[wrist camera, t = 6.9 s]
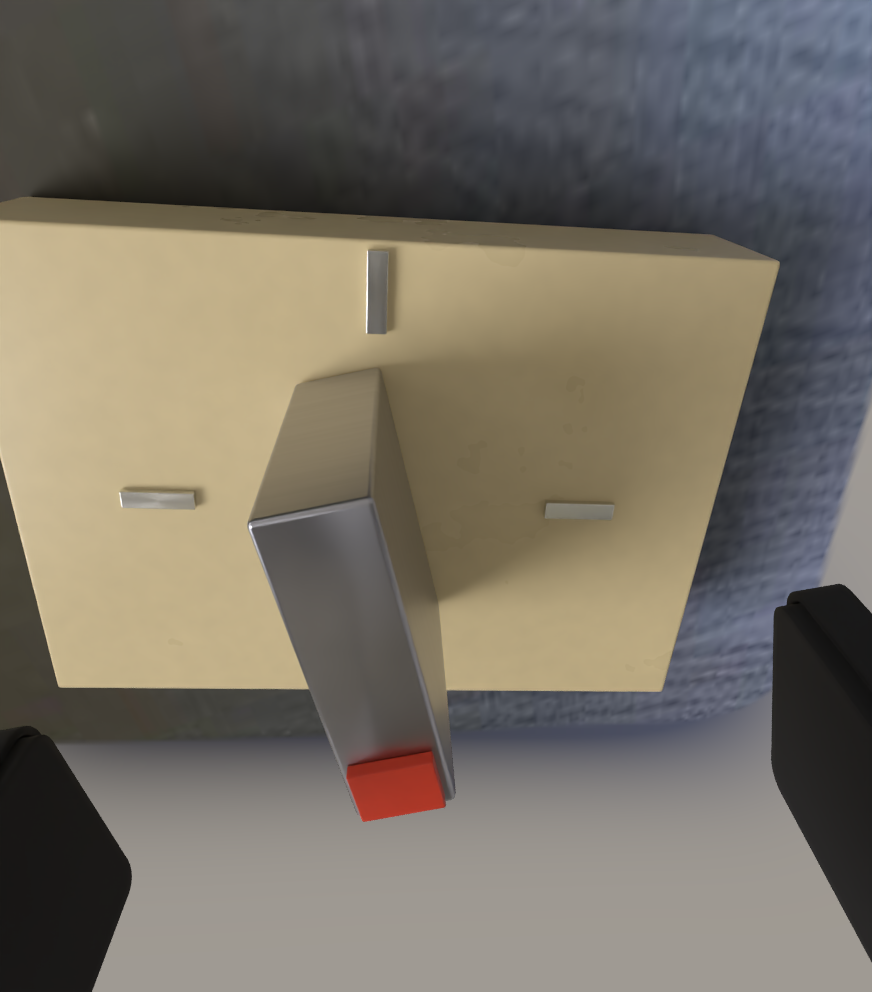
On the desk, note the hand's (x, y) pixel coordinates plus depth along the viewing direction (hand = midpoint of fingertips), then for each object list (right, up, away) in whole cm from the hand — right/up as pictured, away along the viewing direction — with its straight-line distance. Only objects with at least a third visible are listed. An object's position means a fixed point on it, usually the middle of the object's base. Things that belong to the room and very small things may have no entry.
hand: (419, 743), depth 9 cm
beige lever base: (-1, +5, +8) cm, 9 cm away
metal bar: (-1, +3, +5) cm, 6 cm away
